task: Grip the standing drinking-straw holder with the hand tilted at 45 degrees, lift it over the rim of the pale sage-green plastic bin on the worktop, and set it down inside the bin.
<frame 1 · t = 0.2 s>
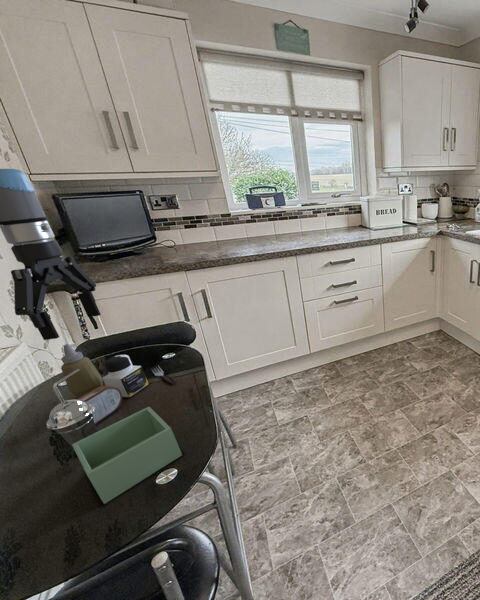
hand: (74, 326, 82), 29 cm above the table, tool pointing down, fingers open, 13 cm apart
cup with straw: (90, 447, 82), on the table
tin: (99, 421, 92), on the table
fork: (165, 378, 111), on the table
squeeze bottle: (91, 394, 105), on the table
medicine bottle: (130, 390, 105), on the table
bin: (135, 463, 75), on the table
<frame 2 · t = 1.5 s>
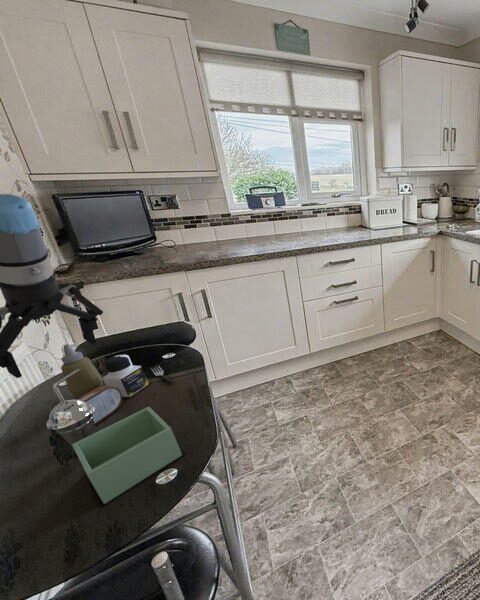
hand: (55, 356, 74), 25 cm above the table, tool tilted 25°, fingers open, 13 cm apart
nothing on the table moved.
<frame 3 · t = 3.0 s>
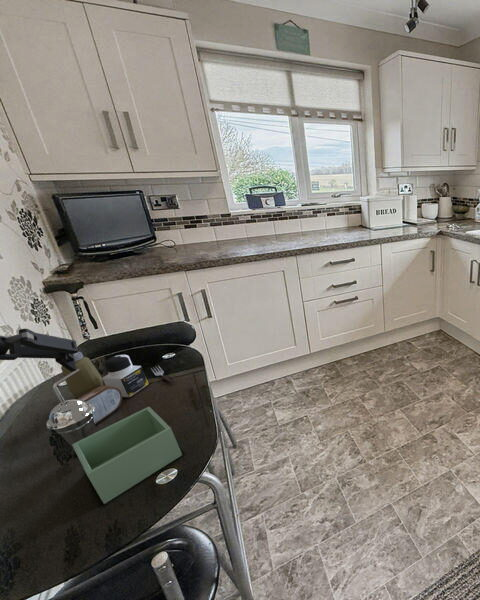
hand: (28, 378, 65), 25 cm above the table, tool tilted 45°, fingers open, 13 cm apart
nothing on the table moved.
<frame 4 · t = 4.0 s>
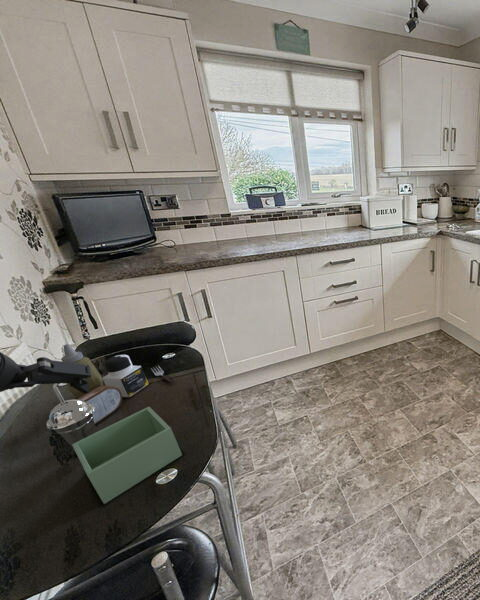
hand: (43, 401, 68), 19 cm above the table, tool tilted 45°, fingers open, 13 cm apart
nothing on the table moved.
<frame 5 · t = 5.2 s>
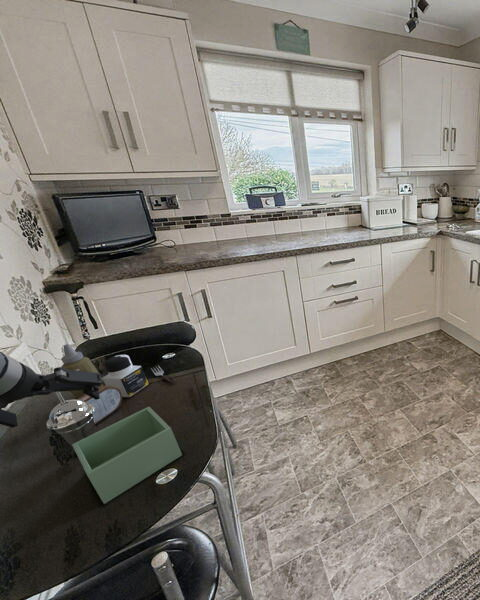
hand: (57, 406, 73), 15 cm above the table, tool tilted 45°, fingers open, 13 cm apart
nothing on the table moved.
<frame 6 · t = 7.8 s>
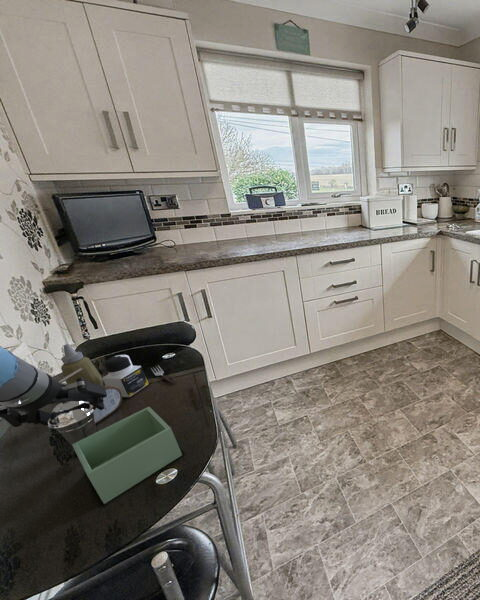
hand: (77, 412, 81), 9 cm above the table, tool tilted 45°, fingers closed on cup with straw, 8 cm apart
cup with straw: (90, 447, 82), on the table, touching gripper
everything else where it was.
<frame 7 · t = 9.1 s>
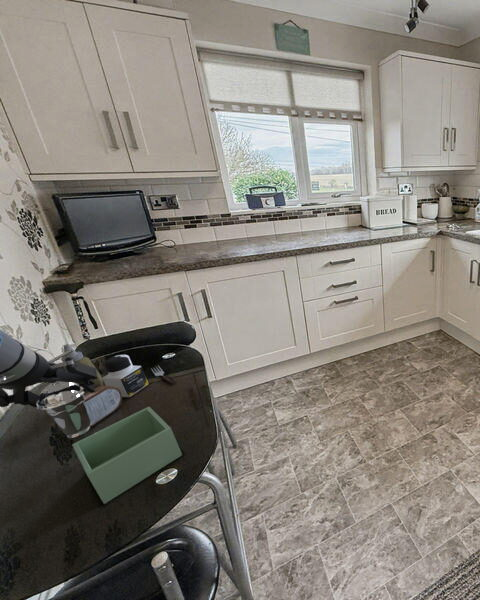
hand: (67, 395, 79), 14 cm above the table, tool tilted 45°, fingers closed on cup with straw, 8 cm apart
cup with straw: (81, 431, 80), point 5 cm above the table, touching gripper
everything else where it was.
when the fingers open (10 cm above the table, at t = 17.1 s): cup with straw stays where it is, resting on bin.
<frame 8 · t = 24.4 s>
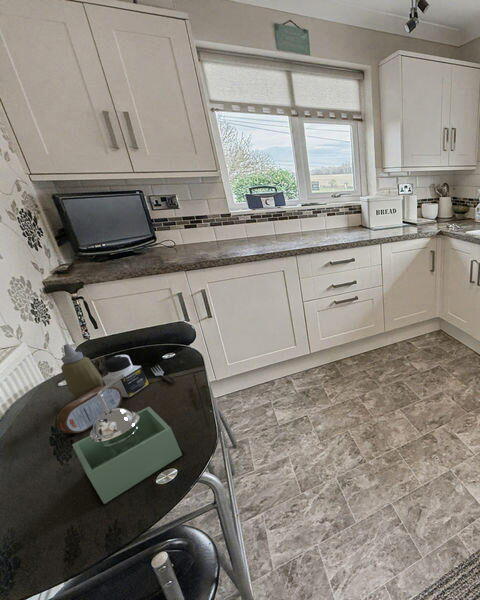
cup with straw: (134, 460, 75), point 1 cm above the table, touching bin
everything else where it was.
at the end: cup with straw inside the target area in the bin (0.1 cm from its centre), point 0.8 cm above the bin's base; the gripper is holding nothing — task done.
